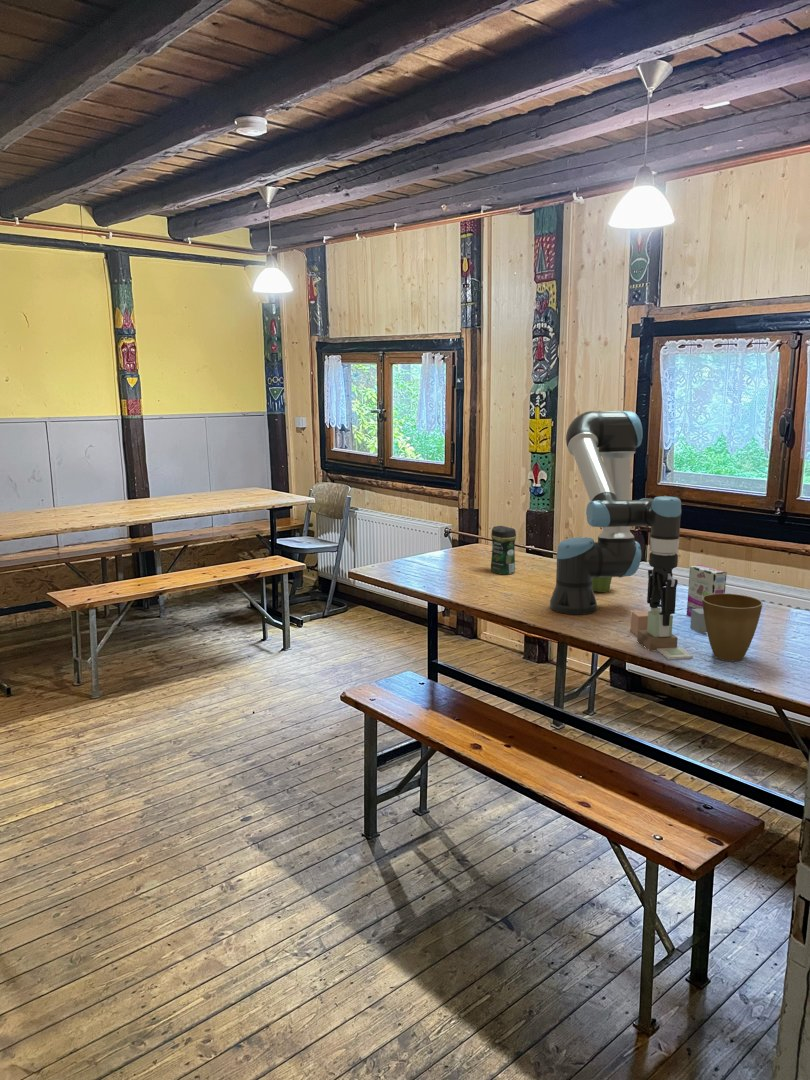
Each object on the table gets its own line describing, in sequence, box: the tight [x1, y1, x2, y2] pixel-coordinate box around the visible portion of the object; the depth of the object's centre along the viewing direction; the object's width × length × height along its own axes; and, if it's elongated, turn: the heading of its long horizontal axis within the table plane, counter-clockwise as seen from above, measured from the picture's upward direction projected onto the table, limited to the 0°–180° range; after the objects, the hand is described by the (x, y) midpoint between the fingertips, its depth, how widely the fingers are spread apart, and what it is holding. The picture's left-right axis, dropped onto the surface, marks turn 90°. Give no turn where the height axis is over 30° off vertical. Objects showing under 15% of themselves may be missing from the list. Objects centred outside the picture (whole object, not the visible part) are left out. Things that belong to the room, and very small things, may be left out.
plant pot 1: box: [592, 577, 613, 593], centre depth 272 cm, size 12×12×11 cm
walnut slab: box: [636, 630, 679, 651], centre depth 214 cm, size 8×8×4 cm
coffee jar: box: [490, 525, 517, 575], centre depth 298 cm, size 10×8×19 cm
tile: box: [656, 646, 694, 660], centre depth 207 cm, size 7×7×1 cm
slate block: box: [689, 609, 707, 634], centre depth 227 cm, size 5×5×6 cm
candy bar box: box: [686, 564, 727, 618], centre depth 236 cm, size 11×5×16 cm, turn 21°
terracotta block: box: [630, 610, 649, 636], centre depth 225 cm, size 5×5×6 cm
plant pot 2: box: [702, 593, 763, 662], centre depth 203 cm, size 15×15×16 cm
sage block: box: [647, 610, 674, 637], centre depth 213 cm, size 5×5×6 cm
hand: (658, 632), depth 213 cm, fingers closed on sage block, 5 cm apart
